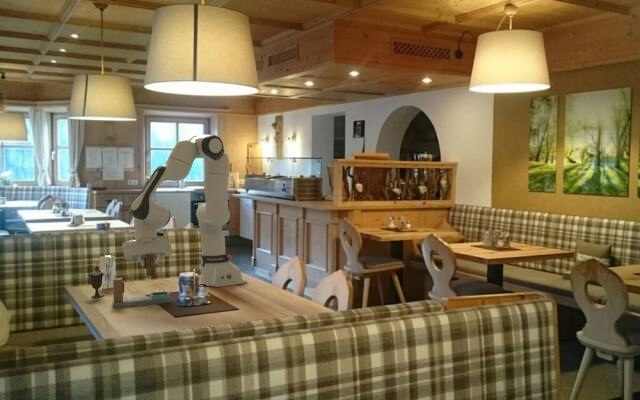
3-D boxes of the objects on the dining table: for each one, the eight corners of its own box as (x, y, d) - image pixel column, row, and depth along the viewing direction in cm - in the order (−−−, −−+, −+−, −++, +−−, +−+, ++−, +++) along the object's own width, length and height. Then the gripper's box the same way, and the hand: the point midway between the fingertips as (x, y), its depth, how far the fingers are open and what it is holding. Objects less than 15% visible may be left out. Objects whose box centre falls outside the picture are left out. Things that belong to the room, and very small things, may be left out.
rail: (168, 299, 246) (167, 273, 246) (170, 302, 240) (169, 276, 239) (112, 304, 238) (111, 277, 238) (113, 308, 232) (112, 280, 231)
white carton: (112, 289, 270) (111, 257, 270) (98, 289, 270) (97, 257, 270) (118, 286, 277) (117, 255, 277) (103, 286, 277) (102, 255, 277)
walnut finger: (154, 274, 253) (153, 253, 252) (155, 275, 250) (154, 255, 249) (144, 275, 252) (143, 254, 251) (145, 276, 248) (144, 255, 248)
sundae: (98, 299, 249) (97, 264, 248) (85, 298, 251) (84, 263, 251) (108, 295, 255) (107, 262, 255) (96, 295, 258) (94, 261, 257)
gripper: (121, 237, 252) (124, 262, 244) (169, 233, 260) (173, 257, 251) (121, 246, 257) (124, 271, 248) (169, 241, 264) (173, 266, 256)
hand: (149, 264), depth 250 cm, fingers closed on walnut finger, 4 cm apart
